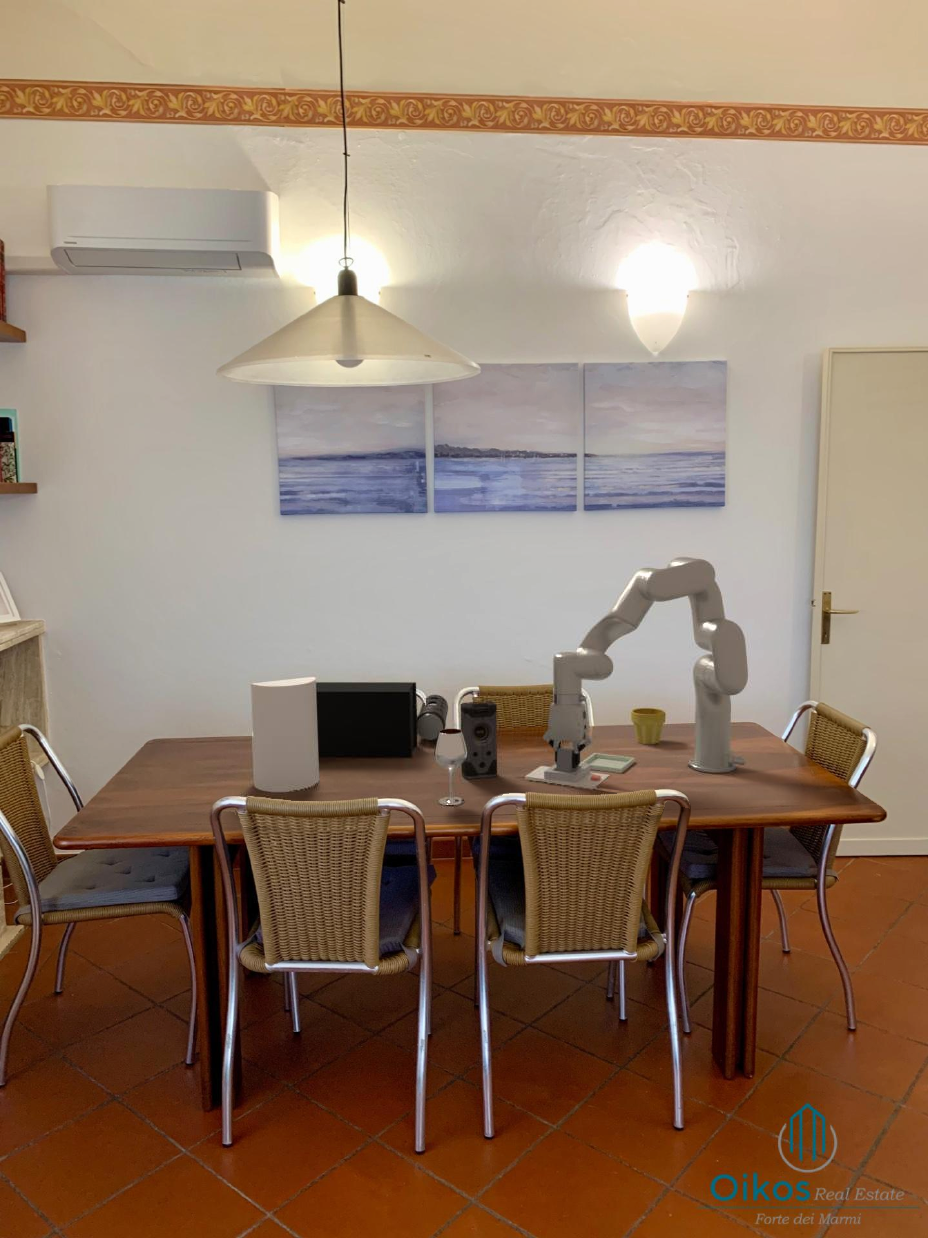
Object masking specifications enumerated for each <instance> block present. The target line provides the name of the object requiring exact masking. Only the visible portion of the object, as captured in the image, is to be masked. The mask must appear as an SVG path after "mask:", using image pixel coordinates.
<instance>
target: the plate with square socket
mask: <svg viewBox="0 0 928 1238" xmlns="http://www.w3.org/2000/svg"><path fill="white" fill-rule="evenodd" d="M556 768H557V766H556V763H555V764H553V765H551V766H547V765H546V766H545V765H540V766H538V767H537V768H536V769H534V770H532V771H531V772H530V773H528V774H526V775H525V776H524V780H525V779H527V780H526V781H529V780H533V781H532V782H536V781H543V782H547V783H546V784H550V783H556V784H555V785H557V784H561V785H560V786H564V785H571V786H575V787H574V788H579V787H584V788H583V789H586V788H597V787H599V785H600V784H601V783H602V782H604V781H605V780H606V779H608V778H609V777H611V774H606V773H605V774H604V773H599V772H591V769H590V765H581V764H579V766H577V771H575V772H572V773H568V772H560V771H556ZM543 782H542V783H543ZM571 786H570V787H571ZM597 789H598V788H597Z"/></svg>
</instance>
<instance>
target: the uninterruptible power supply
mask: <svg viewBox="0 0 928 1238" xmlns="http://www.w3.org/2000/svg"><path fill="white" fill-rule="evenodd" d="M417 699H418V697H417V682H415V681H414V682H411V681H410V682H409V681H407V682H406V681H403V682H400V681H399V682H397V681H395V682H394V681H392V682H389V681H388V682H387V681H386V682H382V681H379V682H376V681H373V682H372V681H370V682H369V681H367V682H363V681H362V682H359V681H357V682H351V681H350V682H349V681H348V682H345V681H344V682H343V681H342V682H341V681H339V682H338V681H337V682H335V681H333V682H332V681H330V682H327V681H325V682H324V681H323V682H322V681H320V682H319V681H318V682H317V681H316V702H317V732H318V759H319V758H321V759H323V758H325V759H412V758H413V751H414V749H416V748H418V734H417V716H418V703H417V701H418V700H417Z"/></svg>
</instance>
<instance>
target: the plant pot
mask: <svg viewBox="0 0 928 1238" xmlns="http://www.w3.org/2000/svg"><path fill="white" fill-rule="evenodd" d="M630 711H631V713H630V715H631V718H630V720H631V722H632V723H633V726H634V732H635V737H636V742H638V743H639V744H643V745H656V743H657V744H659V743H660V739H661V734H662V730H663V726H664V724H665V722H666V711H665V710H664V709H661V708H654V707H638V708H634V709H632V710H630Z"/></svg>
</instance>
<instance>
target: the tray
mask: <svg viewBox="0 0 928 1238" xmlns="http://www.w3.org/2000/svg"><path fill="white" fill-rule="evenodd" d="M635 761H636V759H635V757H631V756H622V755H615V754H604V753H598V752H593V753H592V754H590V755H589V756H588V757H586V758H585V759H584V760H582V761H580V764H581V765H590V770H591V771H592V770H593V771H602V772H609V773H617V774H622V773H623V772H624V771H625V770H627V769H628V768H629V767H631V766H633V764H635Z"/></svg>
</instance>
